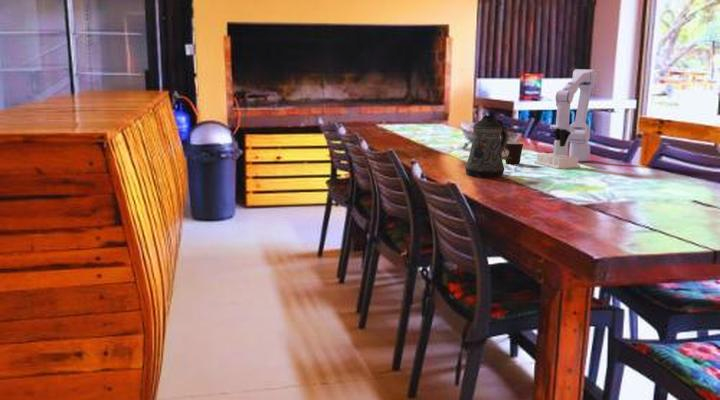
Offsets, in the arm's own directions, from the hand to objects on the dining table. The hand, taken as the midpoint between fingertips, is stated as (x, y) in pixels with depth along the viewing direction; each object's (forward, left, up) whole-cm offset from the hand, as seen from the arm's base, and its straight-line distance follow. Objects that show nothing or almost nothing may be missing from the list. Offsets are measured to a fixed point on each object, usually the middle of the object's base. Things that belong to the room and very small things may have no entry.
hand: (560, 146), depth 312 cm
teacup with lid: (+11, -34, -10) cm, 37 cm away
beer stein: (+45, +5, -10) cm, 46 cm away
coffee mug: (+16, -15, -10) cm, 24 cm away
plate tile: (0, 0, -4) cm, 4 cm away
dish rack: (0, -2, -9) cm, 9 cm away
